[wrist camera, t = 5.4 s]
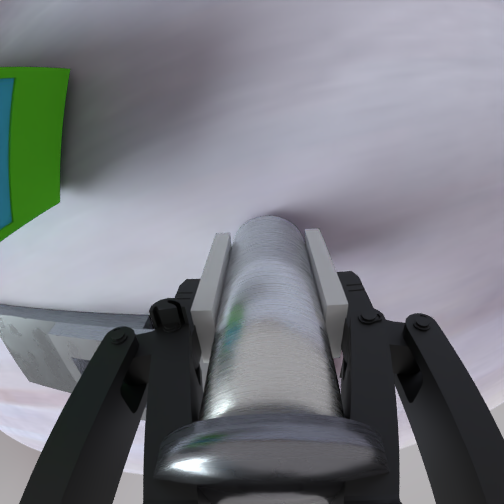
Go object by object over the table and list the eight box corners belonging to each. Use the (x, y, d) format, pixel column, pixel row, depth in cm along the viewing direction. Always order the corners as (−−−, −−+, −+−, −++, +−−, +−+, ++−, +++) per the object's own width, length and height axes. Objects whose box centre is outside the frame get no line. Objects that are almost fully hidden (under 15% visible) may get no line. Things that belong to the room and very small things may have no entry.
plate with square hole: (-6, 303, 22) (-22, 320, 19) (306, 313, 20) (311, 344, 17) (34, 372, 26) (23, 390, 24) (301, 399, 24) (303, 427, 22)
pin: (211, 204, 16) (111, 445, 4) (319, 198, 15) (427, 436, 4) (224, 293, 18) (186, 513, 7) (317, 288, 18) (361, 509, 6)
